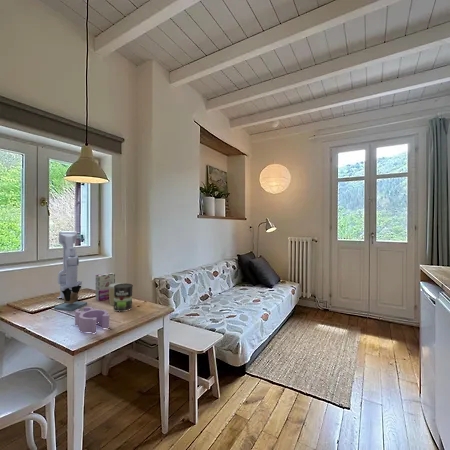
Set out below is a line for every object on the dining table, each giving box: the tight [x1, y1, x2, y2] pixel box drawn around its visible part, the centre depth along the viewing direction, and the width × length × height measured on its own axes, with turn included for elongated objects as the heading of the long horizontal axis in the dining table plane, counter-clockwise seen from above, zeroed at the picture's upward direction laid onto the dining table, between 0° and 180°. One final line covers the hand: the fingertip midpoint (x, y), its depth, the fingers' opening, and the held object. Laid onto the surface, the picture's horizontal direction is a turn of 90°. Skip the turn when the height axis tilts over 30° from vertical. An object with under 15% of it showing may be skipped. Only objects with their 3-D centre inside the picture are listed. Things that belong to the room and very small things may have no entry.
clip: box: [74, 306, 110, 334], centre depth 127 cm, size 20×12×7 cm, turn 55°
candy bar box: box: [95, 272, 116, 302], centre depth 169 cm, size 11×5×16 cm, turn 143°
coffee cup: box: [108, 282, 124, 307], centre depth 160 cm, size 9×9×12 cm
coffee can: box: [113, 282, 134, 313], centre depth 151 cm, size 10×10×14 cm
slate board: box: [53, 300, 88, 312], centre depth 152 cm, size 12×12×1 cm
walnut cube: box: [63, 292, 79, 304], centre depth 152 cm, size 5×5×5 cm
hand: (71, 299), depth 152 cm, fingers closed on walnut cube, 5 cm apart
